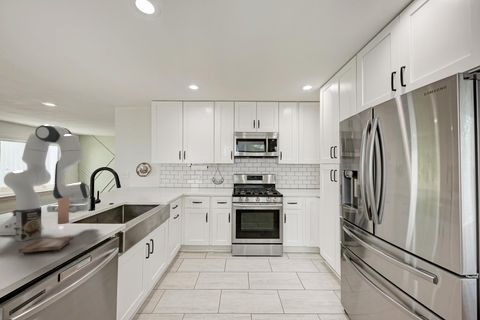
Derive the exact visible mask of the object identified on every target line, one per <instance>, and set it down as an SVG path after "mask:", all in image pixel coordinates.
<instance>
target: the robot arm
mask: <svg viewBox="0 0 480 320" xmlns="http://www.w3.org/2000/svg"><path fill="white" fill-rule="evenodd" d="M28 136H29V137H28V138H27V140H26V142H25V146H24V150H23V154H22V157H21V160H22V161H23V162H24V163H25V164H26V167H27V168H26V169H21V170H20V169H18V170H13V171H9V172H8V173H5V175H4V178H3V182H4V184H5V186H6V187H8V188H9V189H11V190H12V192H13V193H14V196H15V200H16V209H14V210H12V211H11V214H12V216H10V217H8V218H7V219H6V220H4V221H3V222H1V223H0V236H15V235H16V212H19V211H25V210H32V209H41V210H42V207H41V195H40V194H39V193H38V192H36V190H35V188H34V187H40V186H42V185H46V184H48V183H50V181H51V180H52V175H51V173H50V172H49V171H48V170H47V167H46V166H47V165H46V160H47V155H48V151H49V147H50V146H51V144H57V145H59V146H58V147H59V149H60V157H59V160H58V161H56V163H55V168H54V169H55V170H54V186H53V192H52V195H53V198H55V199H56V200H57V201H58V199H59V198H69V208H68V211H69V214H70V213H71V214H74V213H79V212H83V211H85V212H86V211H89V210H91V197H90V194H91V193H90V192H91V191H90V188H89V186H88V184H87V183H85V182H74V183H69V184H65V181H66V180H65V179H66V177H65V176H66V175H65V173H66V171H67V170H68V169H70V168H71V167H74V166H76V165H77V164H79V163H80V162H81V161H82V159H83V151H82V145H81V143H80V139H79V137H78V136H76V134H73V133H72V132H71V130H70V129H68V128H66V127H62V126H59V125H52V124H51V125H50V124H41V125H39V126H37V127H36V129H35V131H34V132H32V133H30V135H28ZM46 211H47V213H58V203H55V204H50V205H47V206H46ZM43 229H44V225H43V222H42V220H41V230H43Z"/></svg>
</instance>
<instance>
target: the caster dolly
mask: <svg viewBox="0 0 480 320" xmlns="http://www.w3.org/2000/svg"><path fill="white" fill-rule="evenodd" d="M72 240H74V236H62V237H51V238H50V237H48V238H38V239H36V240H33V241H32V242H30V243H28V244H26V245H24V246H23V247H19V249H17V250H18V251H17V252H18V254H20V253H22V255H23V256H29V255H30V253H31V252H42V251H53V253H59V252H60V249H62V248H63V247H64V246H66V245H70V242H71V241H72Z"/></svg>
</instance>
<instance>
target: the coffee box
mask: <svg viewBox="0 0 480 320" xmlns="http://www.w3.org/2000/svg"><path fill="white" fill-rule="evenodd" d="M41 221H42V208H41V209H32V210H25V211H19V212H16V235H14V236H15V238H14V239H15V241H16V242H17V241H18V242H25V241H30V240H33V239H36V238H41V237H42V229H41Z"/></svg>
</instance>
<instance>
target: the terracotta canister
mask: <svg viewBox="0 0 480 320" xmlns="http://www.w3.org/2000/svg"><path fill="white" fill-rule="evenodd" d="M69 200H70V199H69V198H59V199H58V200H57V204H58V212H57V225H65V224H69V223H70V212H69V211H68V208H69Z"/></svg>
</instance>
